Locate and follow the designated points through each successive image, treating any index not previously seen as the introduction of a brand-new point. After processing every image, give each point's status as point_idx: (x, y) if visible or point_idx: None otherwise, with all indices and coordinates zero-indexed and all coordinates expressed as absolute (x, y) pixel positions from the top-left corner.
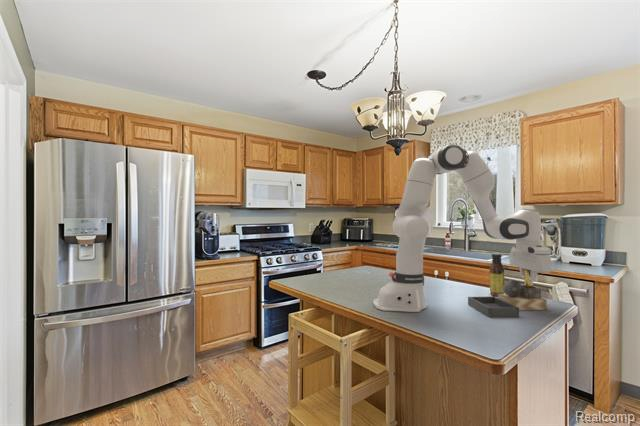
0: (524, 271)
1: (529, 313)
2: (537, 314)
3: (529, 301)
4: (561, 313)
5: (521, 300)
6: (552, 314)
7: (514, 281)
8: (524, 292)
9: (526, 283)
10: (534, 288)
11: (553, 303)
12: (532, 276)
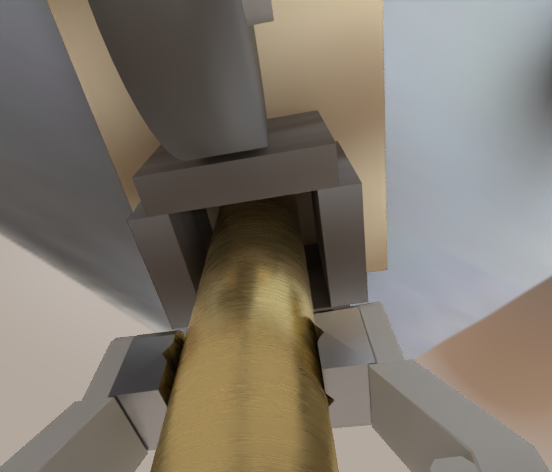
0: (257, 461)
1: (19, 64)
2: (17, 123)
3: (111, 142)
4: (115, 294)
5: (67, 44)
6: (67, 233)
7: (96, 6)
8: (168, 154)
9: (217, 263)
10: (188, 296)
11: None
12: (59, 427)
